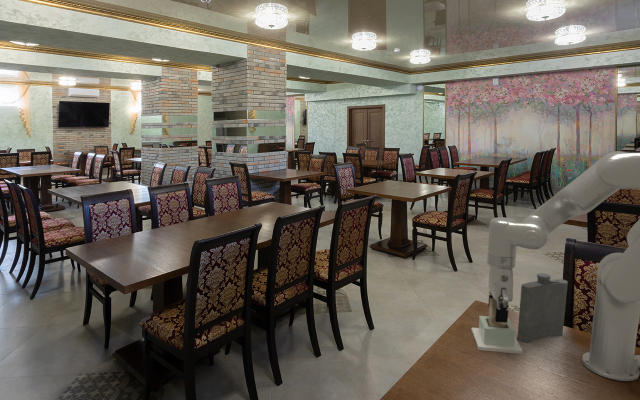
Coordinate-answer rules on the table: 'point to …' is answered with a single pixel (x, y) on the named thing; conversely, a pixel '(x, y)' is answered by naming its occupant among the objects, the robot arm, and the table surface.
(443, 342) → the table surface
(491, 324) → the beech peg
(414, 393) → the table surface
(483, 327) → the socket holder
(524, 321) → the hip flask
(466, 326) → the table surface
